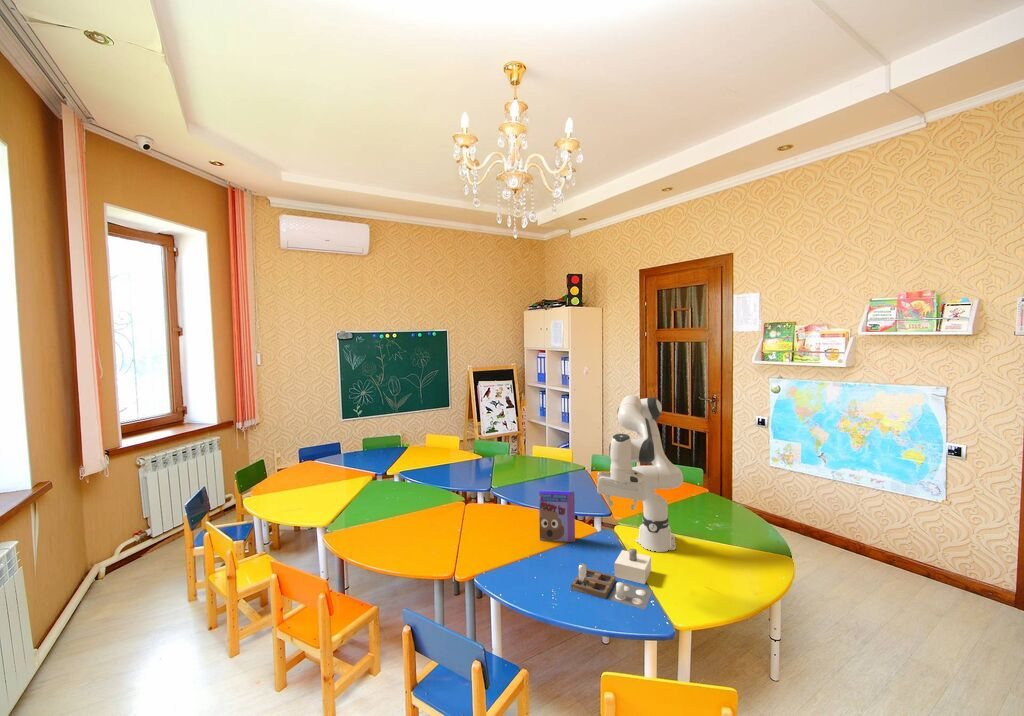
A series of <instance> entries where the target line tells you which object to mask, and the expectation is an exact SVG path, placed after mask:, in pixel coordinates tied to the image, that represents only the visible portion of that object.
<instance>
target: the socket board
mask: <svg viewBox="0 0 1024 716" xmlns="http://www.w3.org/2000/svg"><path fill="white" fill-rule="evenodd" d="M615 582H616V577H615V575H613V574H608V573H605V572H600V571H596V570H593V569H587V568H586V586H582V585H579V573H578V574H577V576H575V578H574V580H573V581H572V582H571V584H570V591H571V593H572V592H573V591H574V592H575V591H576V592H579V593H582V594H586V595H589V596H590V595H591V596H593V597H597V598H601V599H604V600H606V598H607V597H608V595H609V593H610V592H611V590H612V588H613V586H614V585H615Z"/></svg>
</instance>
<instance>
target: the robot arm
mask: <svg viewBox="0 0 1024 716" xmlns="http://www.w3.org/2000/svg"><path fill="white" fill-rule="evenodd" d="M662 408H663V407H662V404H661V402H660V400H659V398H657V397H655V396H649V397H646V398H639V397H638V396H637V395H634V394H630V395H626V396H624V397H623V399H622V400H621V402H620V404H619V406H618V408H617V412H616V414H617V420H618V423H619V425H620V426H621V427H623V428H624V429H625V430H627V431H629V432H636V437H637V438H631V436H630V435H628V434H626V433H616V434H614V435H612V436H611V441H610V443H609V446H608V448H609V449H608V451H609V453H608V455H609V456H610V460H611V461H610V467H609V468H610V471H609V472H608V471H607V472H605V471H600V472H598V473H597V474H596V480H597V485H596V492H597V494H598V495H603V496H605V497H604V498H605V499H606V501H607V506H608V507H612V506H613V504H614V502H613V500H611V498H610V497H615V498H621V499H628V500H633V502H634V503H632V504H631V505H630V510H632V511H635V510H636V507H637V504H638V502H640V501H641V502H642V506H643V507H642V508H643V514H642V518H641V519H642V524H640V525H639V531H638V537H637V538H635V542H636V543H637V542H638V543H637V544H639V545H640V544H641V545H640V546H641V547H642V548H643V547H644V548H643V549H645V550H647V549H648V550H647V551H650V550H651V551H650V552H654V551H656V552H657V553H665V552H669V551H675V549H676V550H677V544H676V543H675V542H676V536H675V534H673V533H672V531H671V525H670V521H669V515H668V502H667V500H666V498H664V496H662V495H660V494H657V493H656V490H671V489H676V488H677V489H678V488H679V487H681V486H682V484H683V482H684V475H683V472H682V470H681V468H679V467H678V466H677V465H675V464H673V463H672V462H671V460H669V459H668V457H667V455H666V454H665V451H664V448H663V444H662V438H661V435H660V434H661V433H660V431H659V427H658V425H657V422H658V421H659V418H660V417H661V415H662V412H663V411H662ZM632 463H640V464H643V465H637V466H633V464H632ZM644 464H645V465H644ZM649 464H652V465H649ZM668 550H669V551H668ZM656 552H655V553H656Z"/></svg>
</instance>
